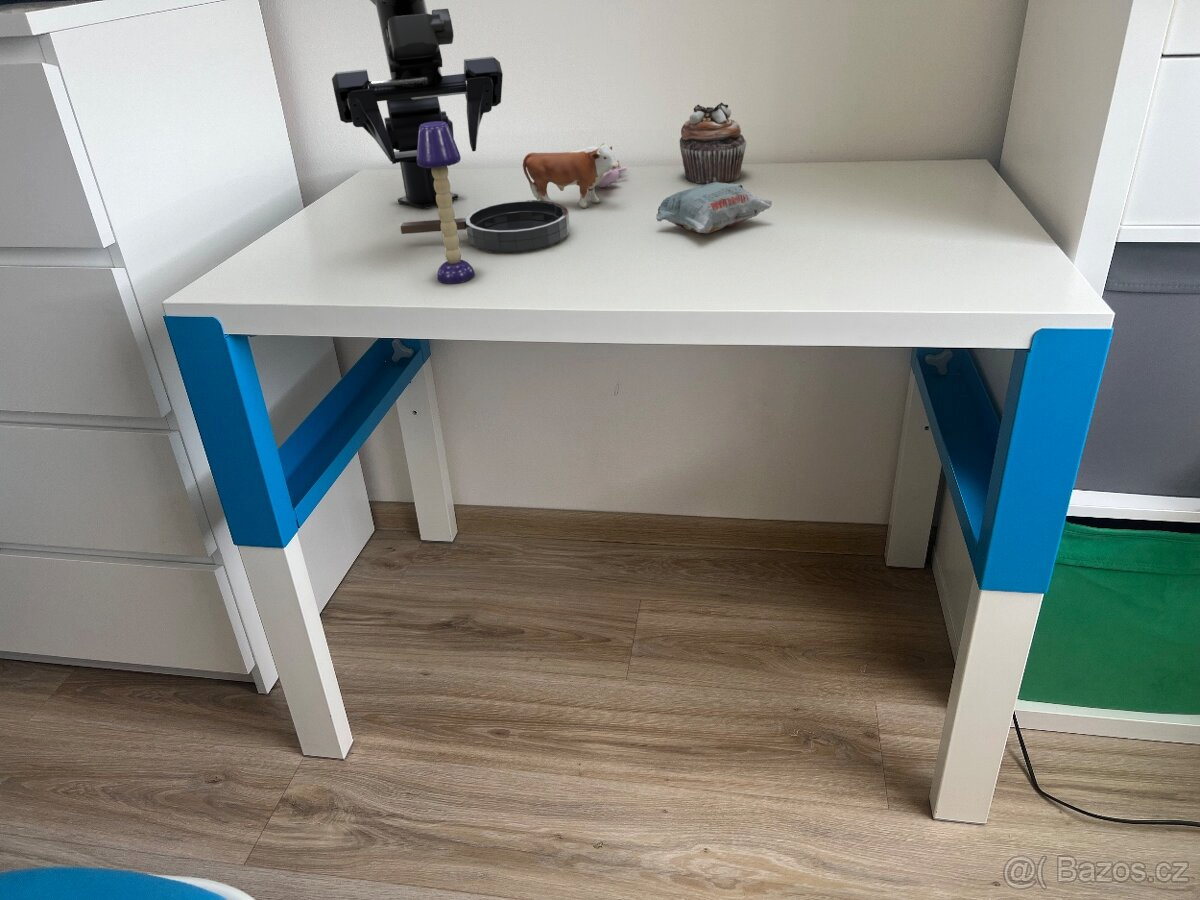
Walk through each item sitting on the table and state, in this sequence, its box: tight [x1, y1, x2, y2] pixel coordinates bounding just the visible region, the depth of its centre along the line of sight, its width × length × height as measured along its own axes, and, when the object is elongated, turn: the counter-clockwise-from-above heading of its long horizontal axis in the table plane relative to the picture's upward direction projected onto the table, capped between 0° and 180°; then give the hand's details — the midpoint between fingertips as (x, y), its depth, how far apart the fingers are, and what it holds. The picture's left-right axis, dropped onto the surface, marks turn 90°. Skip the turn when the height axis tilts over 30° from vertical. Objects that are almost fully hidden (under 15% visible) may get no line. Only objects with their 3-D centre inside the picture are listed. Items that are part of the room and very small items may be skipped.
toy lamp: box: [417, 121, 476, 284], centre depth 95 cm, size 5×5×17 cm
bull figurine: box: [522, 144, 620, 209], centre depth 118 cm, size 4×13×8 cm, turn 76°
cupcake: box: [679, 102, 748, 185], centre depth 126 cm, size 10×10×10 cm
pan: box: [464, 199, 571, 254], centre depth 109 cm, size 13×13×3 cm
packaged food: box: [655, 182, 773, 234], centre depth 108 cm, size 9×12×5 cm
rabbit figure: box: [597, 142, 627, 189], centre depth 127 cm, size 6×6×15 cm
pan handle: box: [400, 217, 466, 235], centre depth 109 cm, size 8×2×1 cm, turn 93°
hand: (433, 154), depth 98 cm, fingers open, 9 cm apart
